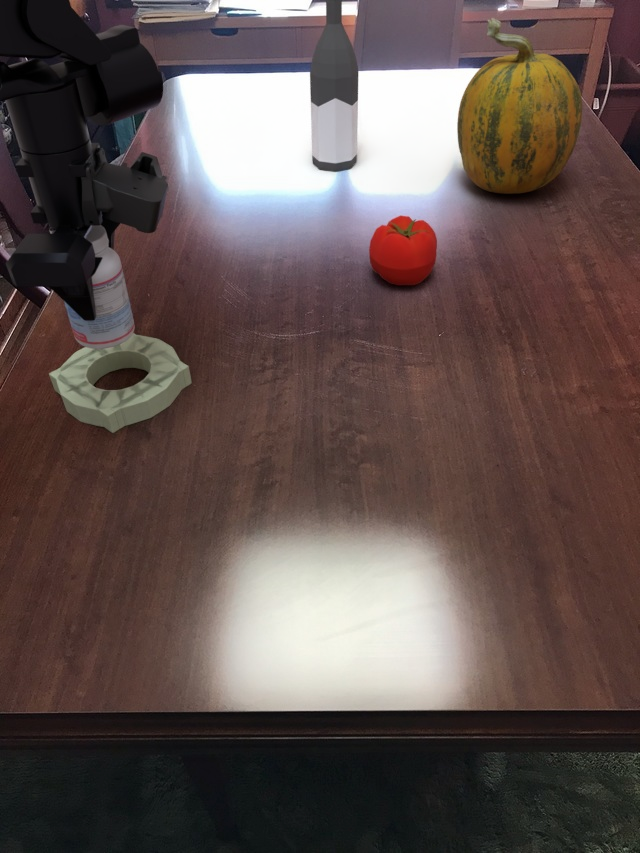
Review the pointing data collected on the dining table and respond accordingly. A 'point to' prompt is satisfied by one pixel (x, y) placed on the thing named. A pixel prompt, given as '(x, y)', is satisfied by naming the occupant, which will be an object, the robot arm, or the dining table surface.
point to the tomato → (403, 251)
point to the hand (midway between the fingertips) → (98, 301)
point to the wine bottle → (334, 95)
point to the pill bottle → (105, 300)
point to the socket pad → (126, 403)
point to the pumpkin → (518, 118)
